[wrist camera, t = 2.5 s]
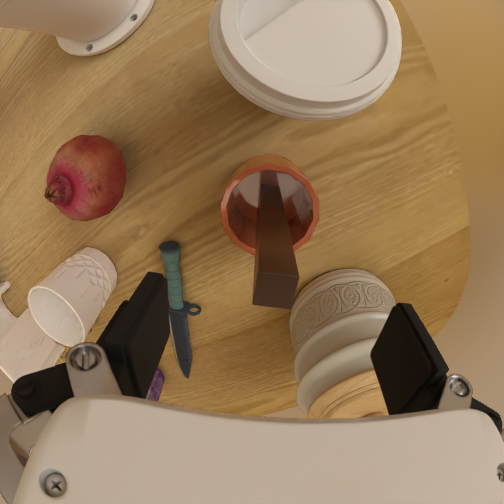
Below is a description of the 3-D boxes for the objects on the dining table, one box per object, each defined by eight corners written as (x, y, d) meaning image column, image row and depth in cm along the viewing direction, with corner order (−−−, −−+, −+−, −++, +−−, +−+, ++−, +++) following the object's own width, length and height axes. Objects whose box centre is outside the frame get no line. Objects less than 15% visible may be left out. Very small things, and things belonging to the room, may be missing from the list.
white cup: (90, 300, 34) (55, 348, 25) (62, 251, 31) (17, 293, 22) (132, 290, 33) (98, 345, 24) (103, 234, 30) (55, 279, 21)
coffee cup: (316, 17, 19) (365, -62, 5) (351, 105, 23) (442, 101, 9) (219, 45, 21) (171, -25, 7) (255, 133, 25) (247, 151, 11)
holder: (233, 149, 25) (224, 157, 20) (315, 161, 25) (329, 173, 20) (224, 224, 29) (215, 250, 23) (300, 234, 29) (308, 262, 24)
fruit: (117, 218, 29) (68, 261, 20) (69, 176, 27) (10, 205, 18) (156, 160, 26) (106, 184, 17) (101, 117, 24) (38, 125, 15)
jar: (267, 325, 34) (267, 458, 19) (334, 244, 29) (393, 378, 14) (342, 358, 37) (367, 469, 21) (407, 295, 32) (469, 404, 16)
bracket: (-8, 293, 36) (-43, 330, 25) (6, 274, 34) (-37, 315, 23) (72, 384, 45) (50, 427, 35) (96, 378, 43) (72, 428, 32)
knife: (148, 248, 28) (193, 254, 27) (157, 239, 30) (200, 244, 29) (174, 381, 39) (205, 388, 39) (178, 371, 41) (208, 377, 41)
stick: (260, 183, 26) (257, 271, 12) (279, 186, 26) (299, 276, 12) (258, 202, 27) (252, 305, 13) (276, 204, 27) (291, 309, 13)
